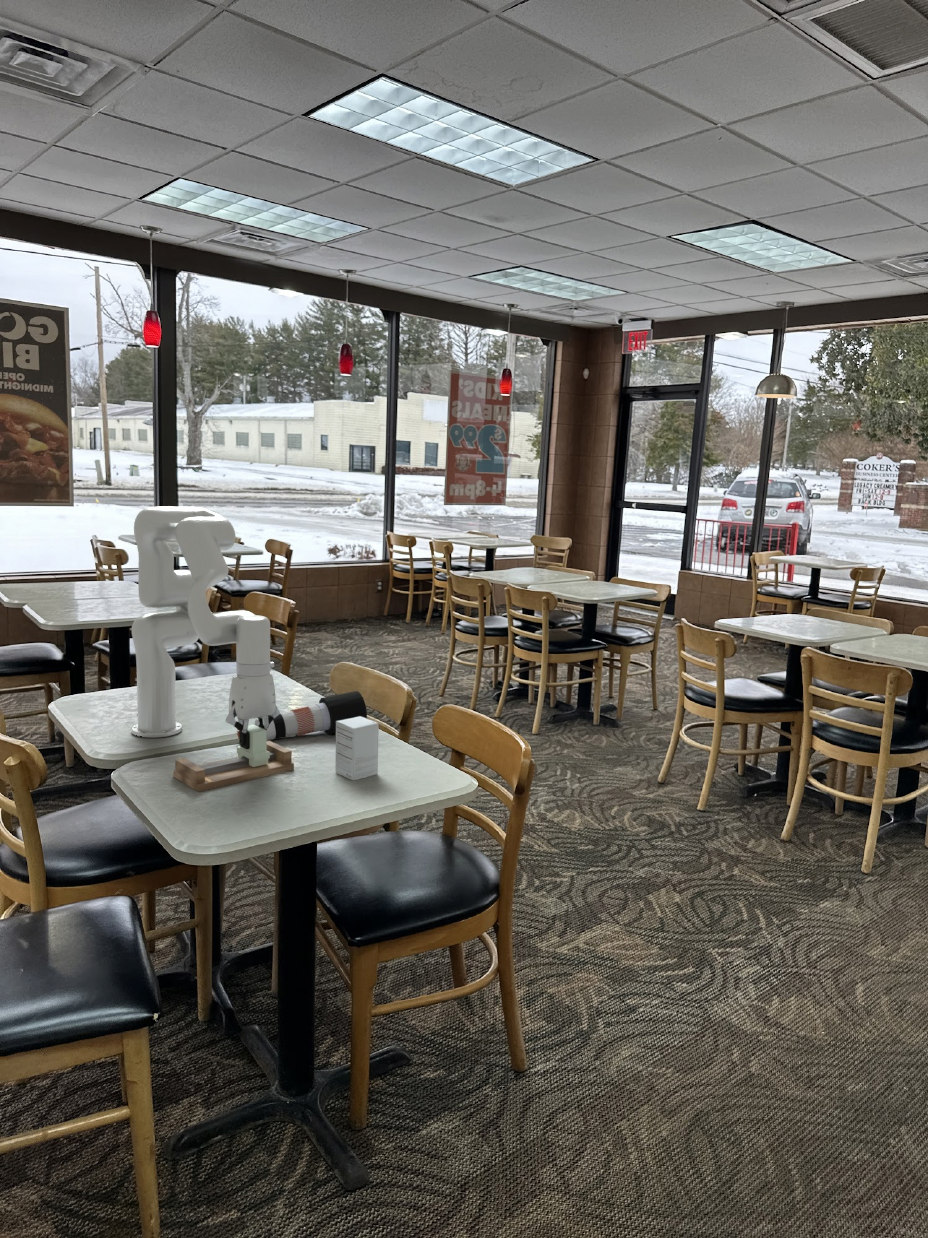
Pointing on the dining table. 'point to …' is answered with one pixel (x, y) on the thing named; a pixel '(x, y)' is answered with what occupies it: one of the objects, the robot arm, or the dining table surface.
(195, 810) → the dining table surface
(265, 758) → the block
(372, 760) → the supplement box
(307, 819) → the dining table surface
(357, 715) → the white black stepped cylinder
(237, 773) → the rail board
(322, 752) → the dining table surface
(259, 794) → the dining table surface
